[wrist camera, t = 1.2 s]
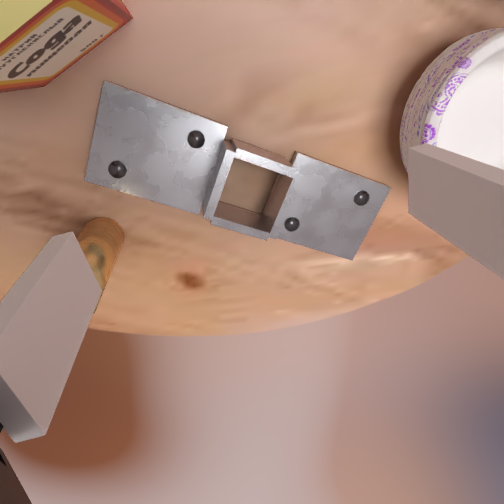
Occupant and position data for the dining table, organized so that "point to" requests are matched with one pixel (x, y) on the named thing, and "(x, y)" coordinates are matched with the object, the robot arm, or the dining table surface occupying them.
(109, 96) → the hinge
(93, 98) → the dining table surface
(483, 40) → the paper bowls
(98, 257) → the hinge pin
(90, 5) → the baking soda box
